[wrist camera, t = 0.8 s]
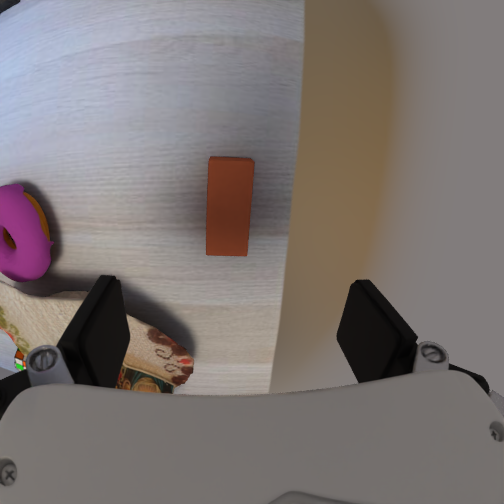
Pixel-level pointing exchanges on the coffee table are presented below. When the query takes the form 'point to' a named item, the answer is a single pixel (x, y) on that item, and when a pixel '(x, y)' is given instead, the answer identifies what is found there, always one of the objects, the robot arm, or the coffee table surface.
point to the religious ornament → (58, 318)
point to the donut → (22, 235)
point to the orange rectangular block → (228, 205)
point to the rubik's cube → (20, 360)
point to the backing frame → (7, 4)
